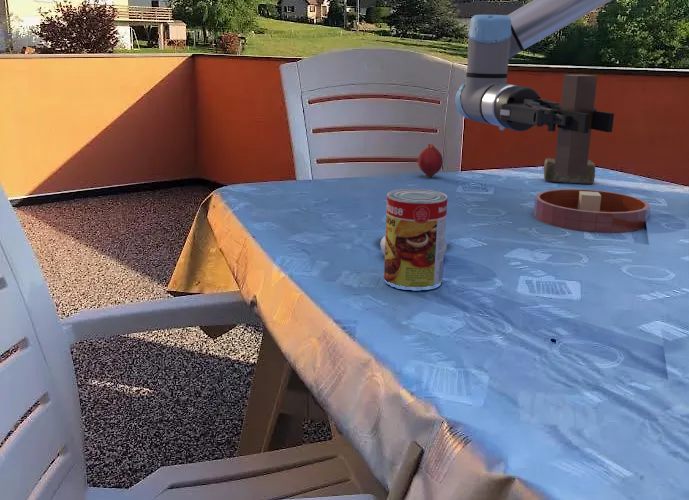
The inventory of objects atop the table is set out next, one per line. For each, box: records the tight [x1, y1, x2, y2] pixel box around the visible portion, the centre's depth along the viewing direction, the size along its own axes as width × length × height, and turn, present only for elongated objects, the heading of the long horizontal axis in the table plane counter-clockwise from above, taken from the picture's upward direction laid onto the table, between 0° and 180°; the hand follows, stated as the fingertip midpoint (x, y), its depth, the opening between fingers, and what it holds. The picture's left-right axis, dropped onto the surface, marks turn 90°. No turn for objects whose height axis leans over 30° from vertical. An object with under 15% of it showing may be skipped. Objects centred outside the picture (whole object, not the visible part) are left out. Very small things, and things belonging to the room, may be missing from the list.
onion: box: [417, 142, 444, 178], centre depth 167 cm, size 6×6×8 cm
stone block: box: [543, 157, 596, 185], centre depth 165 cm, size 6×12×5 cm, turn 80°
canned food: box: [383, 188, 448, 287], centre depth 94 cm, size 8×8×12 cm
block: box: [578, 191, 601, 212], centre depth 134 cm, size 4×4×4 cm
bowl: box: [533, 188, 651, 234], centre depth 129 cm, size 20×20×4 cm
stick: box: [554, 74, 598, 176], centre depth 109 cm, size 4×4×15 cm
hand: (598, 123), depth 104 cm, fingers closed on stick, 3 cm apart
